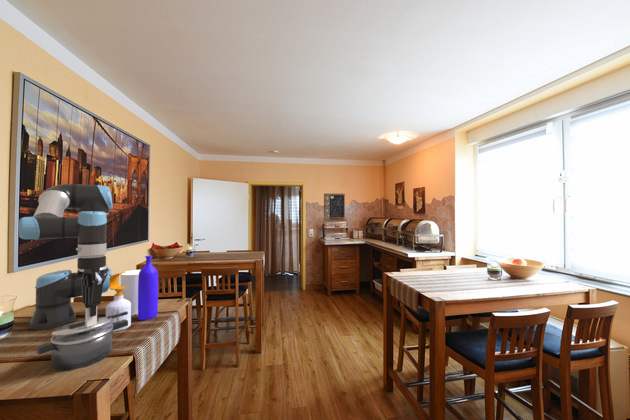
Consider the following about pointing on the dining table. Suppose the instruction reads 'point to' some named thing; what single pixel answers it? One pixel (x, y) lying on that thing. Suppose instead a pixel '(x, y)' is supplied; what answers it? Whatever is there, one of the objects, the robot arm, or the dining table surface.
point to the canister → (131, 288)
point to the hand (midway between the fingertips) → (91, 325)
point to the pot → (81, 347)
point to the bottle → (148, 291)
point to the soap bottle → (118, 302)
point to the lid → (81, 327)
